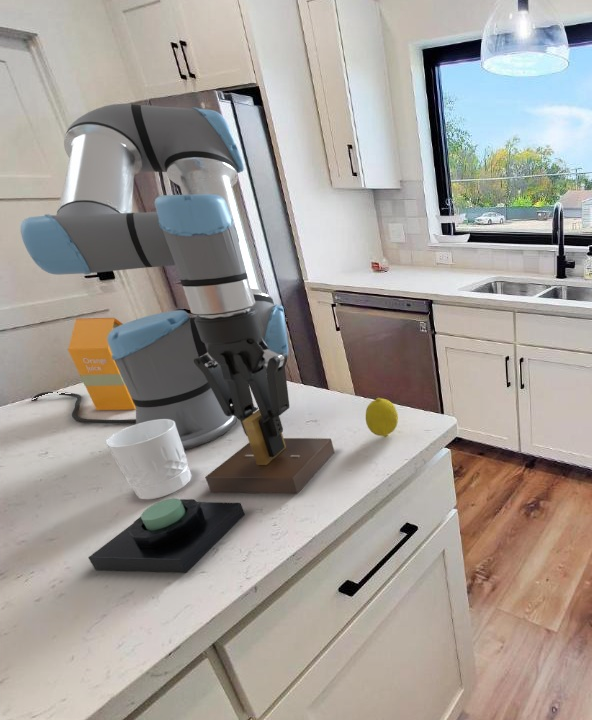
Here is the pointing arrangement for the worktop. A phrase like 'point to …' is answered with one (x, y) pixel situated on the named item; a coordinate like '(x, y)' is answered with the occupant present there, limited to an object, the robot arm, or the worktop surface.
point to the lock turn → (257, 439)
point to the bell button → (163, 514)
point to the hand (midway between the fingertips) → (270, 451)
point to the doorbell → (169, 540)
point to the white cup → (151, 458)
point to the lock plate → (272, 468)
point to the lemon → (381, 417)
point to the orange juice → (99, 364)
